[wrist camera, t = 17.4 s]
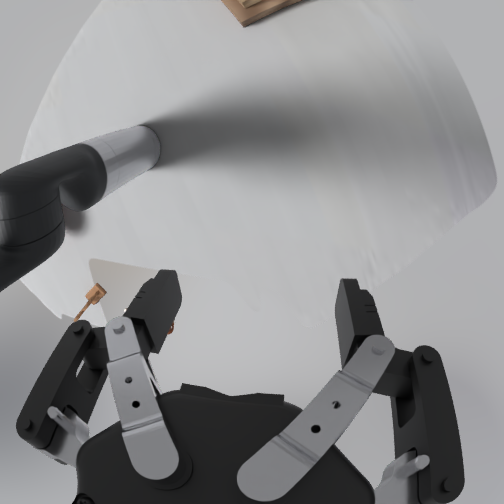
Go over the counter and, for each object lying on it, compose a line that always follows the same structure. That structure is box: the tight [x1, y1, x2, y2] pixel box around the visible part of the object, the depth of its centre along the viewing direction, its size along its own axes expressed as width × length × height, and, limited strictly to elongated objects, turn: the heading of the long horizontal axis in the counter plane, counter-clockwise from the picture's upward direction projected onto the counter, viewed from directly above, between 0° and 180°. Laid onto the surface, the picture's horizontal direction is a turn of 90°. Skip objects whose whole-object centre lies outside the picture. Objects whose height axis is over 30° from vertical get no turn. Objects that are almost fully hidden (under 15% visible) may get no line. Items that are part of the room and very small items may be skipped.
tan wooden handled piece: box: [74, 283, 106, 322], centre depth 63 cm, size 9×4×12 cm, turn 129°
